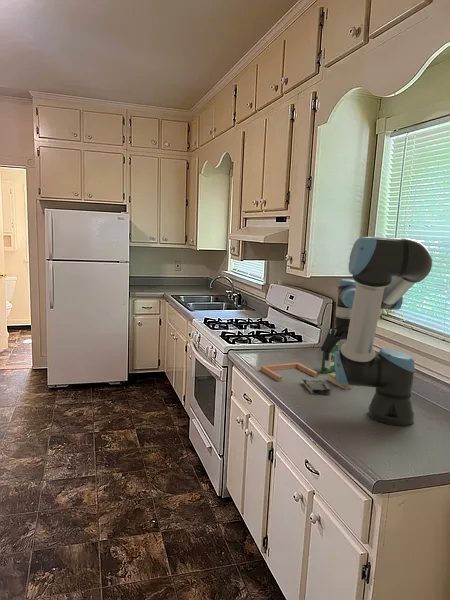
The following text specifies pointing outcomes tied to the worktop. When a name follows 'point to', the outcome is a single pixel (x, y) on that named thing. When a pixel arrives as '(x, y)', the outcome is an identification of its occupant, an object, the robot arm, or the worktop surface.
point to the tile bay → (277, 377)
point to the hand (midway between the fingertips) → (340, 366)
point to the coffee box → (332, 366)
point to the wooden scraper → (333, 379)
